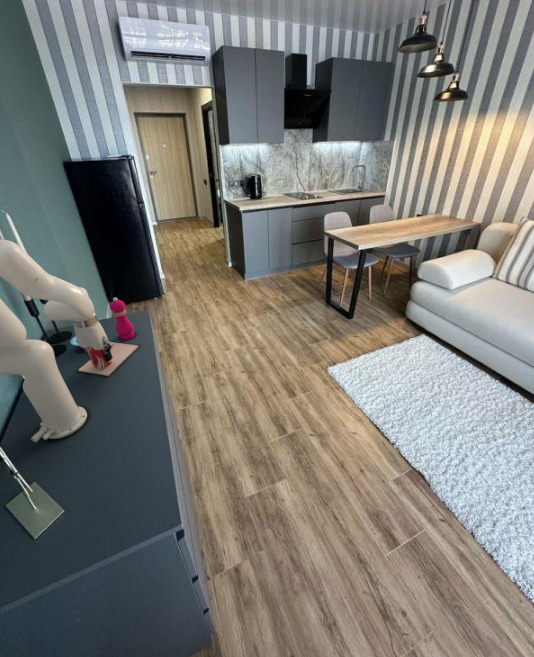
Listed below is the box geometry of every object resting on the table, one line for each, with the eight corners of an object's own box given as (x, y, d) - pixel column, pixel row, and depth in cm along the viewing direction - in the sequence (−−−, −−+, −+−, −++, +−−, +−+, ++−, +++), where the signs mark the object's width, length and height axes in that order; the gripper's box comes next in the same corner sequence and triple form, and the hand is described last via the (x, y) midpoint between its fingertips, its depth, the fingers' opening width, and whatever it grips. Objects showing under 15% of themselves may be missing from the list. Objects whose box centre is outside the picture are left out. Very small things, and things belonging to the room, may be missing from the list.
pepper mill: (135, 338, 139) (123, 299, 128) (119, 342, 137) (105, 302, 126) (135, 330, 145) (123, 292, 134) (119, 334, 142) (106, 295, 132)
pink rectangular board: (108, 375, 117) (107, 375, 117) (78, 371, 120) (77, 370, 120) (138, 346, 134) (138, 345, 133) (111, 342, 137) (111, 342, 136)
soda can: (108, 370, 119) (98, 345, 113) (90, 370, 120) (79, 345, 113) (116, 359, 125) (107, 335, 119) (99, 359, 126) (89, 335, 119)
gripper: (58, 323, 110) (76, 361, 120) (98, 328, 106) (113, 367, 116) (73, 313, 116) (89, 350, 126) (112, 317, 113) (126, 356, 122)
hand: (101, 358), depth 121 cm, fingers closed on soda can, 7 cm apart
